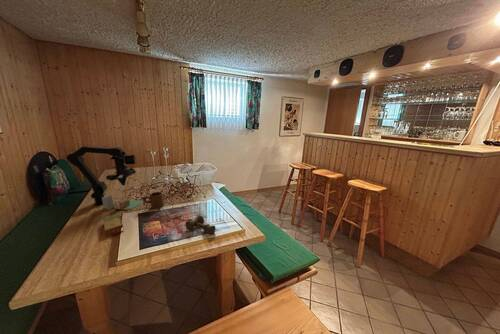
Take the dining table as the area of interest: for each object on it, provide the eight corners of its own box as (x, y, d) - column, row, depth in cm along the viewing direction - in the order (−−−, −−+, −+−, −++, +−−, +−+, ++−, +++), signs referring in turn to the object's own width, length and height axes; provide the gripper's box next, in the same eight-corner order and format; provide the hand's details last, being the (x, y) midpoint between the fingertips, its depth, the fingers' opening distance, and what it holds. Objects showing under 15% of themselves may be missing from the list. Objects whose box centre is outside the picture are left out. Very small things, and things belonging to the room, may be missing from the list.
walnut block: (114, 202, 128) (125, 199, 136) (114, 208, 129) (125, 204, 137) (118, 203, 127) (129, 200, 135) (119, 209, 128) (129, 205, 136)
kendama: (206, 240, 100) (180, 227, 110) (219, 231, 108) (193, 220, 118) (206, 230, 98) (180, 218, 108) (219, 221, 106) (193, 211, 116)
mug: (145, 211, 127) (143, 198, 125) (143, 207, 134) (141, 194, 131) (164, 207, 134) (162, 194, 131) (162, 203, 140) (160, 191, 137)
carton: (106, 237, 102) (104, 230, 101) (103, 224, 114) (102, 218, 113) (124, 231, 107) (123, 224, 106) (120, 219, 119) (119, 213, 118)
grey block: (104, 208, 132) (101, 197, 130) (109, 205, 136) (107, 195, 134) (108, 209, 131) (106, 198, 129) (113, 206, 135) (111, 196, 133)
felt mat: (115, 206, 135) (114, 206, 134) (129, 199, 146) (129, 199, 146) (130, 209, 131) (130, 208, 131) (144, 201, 142) (144, 201, 142)
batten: (113, 208, 132) (112, 206, 132) (114, 207, 133) (114, 206, 133) (126, 210, 129) (126, 209, 129) (128, 209, 130) (127, 208, 130)
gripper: (115, 169, 126) (119, 191, 130) (139, 162, 143) (142, 182, 147) (103, 167, 129) (107, 189, 134) (128, 161, 146) (131, 181, 151)
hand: (123, 185), depth 141 cm, fingers closed
